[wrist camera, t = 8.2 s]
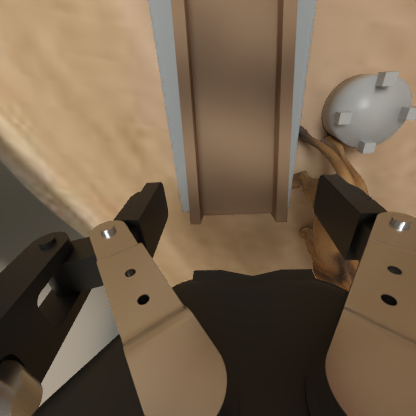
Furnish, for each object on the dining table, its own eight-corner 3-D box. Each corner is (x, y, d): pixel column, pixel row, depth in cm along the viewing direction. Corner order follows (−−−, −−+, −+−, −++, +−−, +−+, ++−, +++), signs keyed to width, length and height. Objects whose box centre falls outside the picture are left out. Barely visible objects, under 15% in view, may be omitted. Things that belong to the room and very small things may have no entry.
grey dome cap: (376, 139, 17) (405, 151, 15) (314, 142, 18) (331, 155, 15) (398, 68, 15) (437, 68, 12) (326, 74, 15) (349, 75, 13)
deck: (282, 194, 20) (288, 208, 18) (186, 198, 21) (182, 211, 19) (329, -234, 10) (358, -318, 8) (129, -194, 10) (106, -260, 8)
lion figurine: (358, 245, 23) (425, 330, 15) (306, 260, 25) (344, 345, 17) (328, 109, 17) (419, 140, 9) (260, 140, 18) (288, 190, 10)
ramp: (269, 187, 18) (285, 228, 13) (199, 190, 18) (191, 230, 13) (290, -85, 10) (344, -211, 6) (171, -68, 11) (134, -171, 6)
